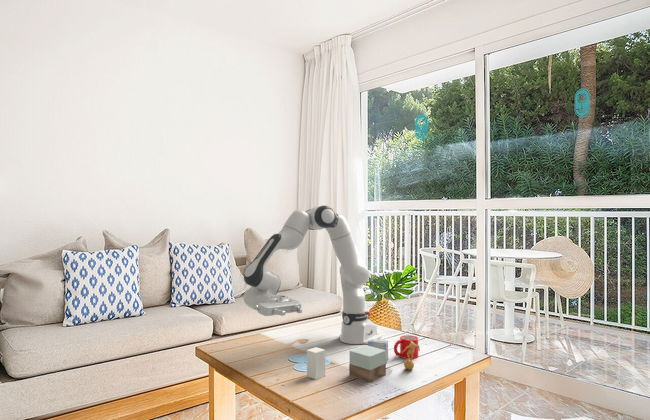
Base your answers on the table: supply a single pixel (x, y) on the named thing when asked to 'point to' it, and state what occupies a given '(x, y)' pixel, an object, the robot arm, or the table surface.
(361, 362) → the tower top
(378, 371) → the tower bottom
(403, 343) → the mug
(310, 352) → the tall block
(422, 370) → the table surface
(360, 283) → the robot arm
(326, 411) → the table surface
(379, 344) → the medicine box
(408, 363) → the figurine
